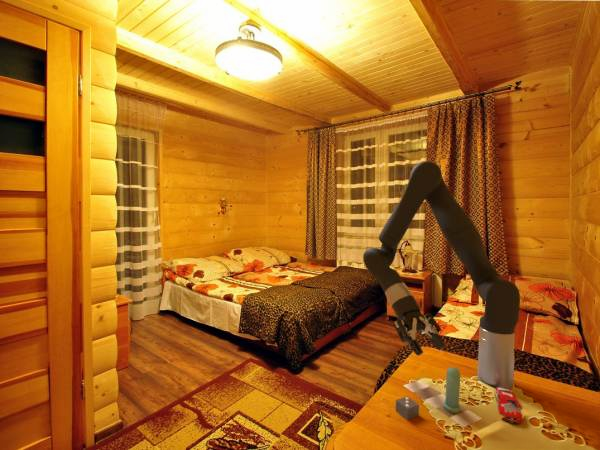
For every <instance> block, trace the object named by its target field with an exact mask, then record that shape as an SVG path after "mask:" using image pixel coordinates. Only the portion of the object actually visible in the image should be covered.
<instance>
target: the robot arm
mask: <svg viewBox="0 0 600 450" xmlns="http://www.w3.org/2000/svg"><path fill="white" fill-rule="evenodd" d="M424 201H426V203H427V205H428V206H429V207H430V209H431V212H432V214H433V216H434V218H435V221H436V224H437V225H438V227H439V230H440V231H441V233H442V235H443V236H444V238H445V240H446V241H447V243H448V245H449V246H450V248H451V250H452V251H453V252H454V254H455V255H456V257H457V258H458V260H459V261H460V262H461V264H462V265H463V267H464V268H465V270H466V271H467V273H468V275H469V278H471V281H472V283H473V285H474V288H475V291H476V292H477V293H478V296H479V297H480V299H482V301H484V302H485V303H484V315H482V316H480V318H479V330H478V331H479V332H478V356H477V357H478V358H477V359H478V361H477V380H478V381H479V382H481V383H483V384H485V385H487V386H488V387H491V388H492V389H495V390H496V388H504V389H508V390H511V391H512V390H513V385H514V372H515V337H516V336H515V333H516V332H515V331H516V330H515V329H516V326H517V325H518V323H519V316H520V306H521V293H520V289H519V288H518V287H517V285H516V284H515V283H513V282H512V281H510V280H508V279H506V278H503V277H502V276H501V274H499V272H498V271H497V270H496V268H495V267H494V265H493V264H492V263H491V261H490V259H489V257H488V255H487V252H486V246H485V244H484V240H483V237H482V236H481V233H480V232H479V230H478V228H477V227H476V224H474V222H473V220H472V219H471V217H470V216H469V215H468V214H467V212H466V211H465V210H464V208H463V207H462V205H460V204H459V203H458V201H457V200H456V199H455V198H454V196H453V195H452V193H451V192H450V189H449V188H448V186H447V184H446V183H445V180H444V178H443V173H442V170H441V168H440V166H439V165H438V163H435V162H433V161H428V160H423V161H421V162H418V163H417V164H416V165H414V166H413V168H412V169H411V171H410V175H409V179H408V182H407V185H406V188H405V190H404V192H403V195H402V196H401V199H400V200H399V202H398V203H397V205H396V207H395V208H394V209H393V212H392V213H391V214H390V216H389V217H388V220H387V221H386V223H385V224H384V226H383V228H382V230H381V231H380V233H379V236H378V240H379V242H380V243H381V246H380V248H378V247H377V248H376V247H370V248H367V249H366V250H365V251H364V252H363V255H362V259H363V263H364V266H365V268H366V269H367V270H368V271H369V273H370V274H371V275H372V276H373V277H374V279H375V280H377V282H378V283H379V285H380V287H381V288H382V290H383V292H384V294H385V296H386V299H387V301H388V303H389V305H390V307H391V309H392V310H393V313H394V314H395V316H396V317H397V319H396V321H394V322H393V327H394V328H395V331H396V332H397V335H398V338H399V339H400V341H401V343H408V344H409V345H410V347H411V349H412V350H413V353H414V354H415V355H416V356H421V355H422V354H423V353H424V350H423V348H422V347H421V345H420V343H419V342H418V340H417V339H416V334H417V333H423V334H427V335H428V336H429V337H430V339H431V340H432V342H433V344H434V345H435V347H436V349H437V350H439V351H440V350H442V349H443V348H445V344H444V342H443V341H442V339H441V336H439V333H440V332H441V331H442V329H441V327H440V325H439V323H438V322H437V321H436V319H435V318H434V316H433V315H432V313H430V312H428V313H426V314H422V312H421V307H420V305H419V303H418V301H417V299H416V298H415V297H414V295H413V293H412V291H411V289H410V288H409V287H408V286H407V285H406V283H405V282H404V280H403V278H402V277H401V275H400V274H399V272H398V271H397V270H395V269H394V268H391V266H392V264H393V263H394V260H395V257H396V254H397V251H398V247H399V244H400V242H401V241H402V240H403V238H404V236H405V235H406V233H407V230H408V229H409V227H410V225H411V223H412V222H413V220H414V218H415V215H416V214H417V212H418V211H419V210H420V207H421V206H422V205H423V203H424Z"/></svg>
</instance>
